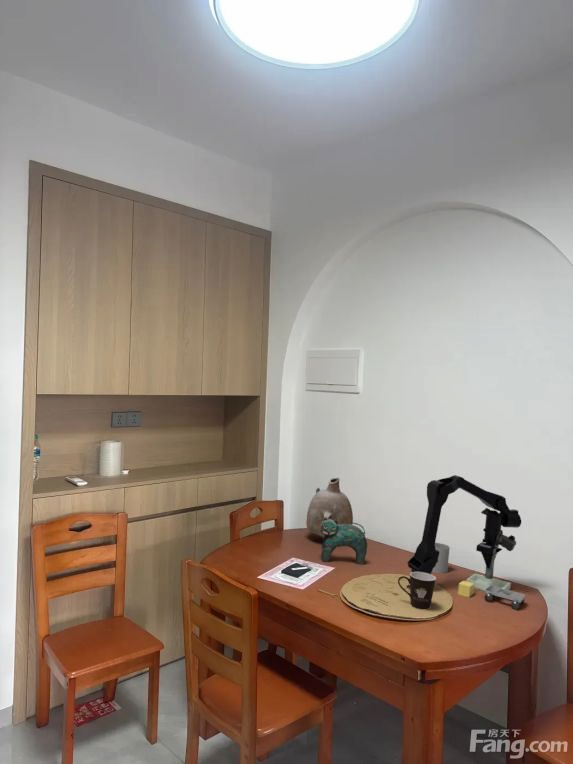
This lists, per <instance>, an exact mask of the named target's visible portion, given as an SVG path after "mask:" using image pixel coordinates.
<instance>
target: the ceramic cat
mask: <svg viewBox="0 0 573 764" xmlns="http://www.w3.org/2000/svg"><path fill="white" fill-rule="evenodd" d="M339 514H342V513H339ZM339 514H337V515H339ZM342 515H344V514H342ZM344 516H345V515H344ZM337 523H338V521H337V516H336V521H333V520H331V519H327V518H326V517H325V518H324V520H323V521H322V523H321V532H322V533H323V534H324V539H323V538H322V545H321V553H320V555H321V556H320V558H321V562H324V563H329V562H330V559H331V557H332V554H333V552H334V551H335V549H337V548H338V547H349V548H351V549H352V550H353V551H354V552H355V564H357V565H365V561H366V555H367V549H368V541H367V538H366V531H365V528H364V526H362V524H360V523H358V522H354V521H353V522H351V523H353V524H352V525H351V524H350V523H346V524H340V523H338V524H339V525H338V524H337ZM356 525H357V526H356ZM360 527H361V528H362V529H361V528H360Z"/></svg>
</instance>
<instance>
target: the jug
mask: <svg viewBox="0 0 573 764" xmlns="http://www.w3.org/2000/svg"><path fill="white" fill-rule="evenodd" d="M339 513H342V514H344V515H345V516H344V515H342V514H339ZM337 514H339V515H337ZM353 514H354V513H353V508H352V504H351V501H350V499H349V498H348V496H347V495H346V494H345V493H344V492H341V489H340V477H333V478H331V479H329V481H328V485H327V487H326V488H325V489H320V487H317V488H316V489H315V494H314V496H313V497H312V498H311V500H310V502H309V505H308V509H307V513H306V521H305V522H306V523H305V525H306V529H307V531H309V532H310V533H313V534H315V535H318V536H319V537H320V538H322V540H323V539H324V534H323V533H322V532H321V523H322V521H323V520H324V518H325V517H326V518H327V519H331V520H333V521H336V516H337V521H338V523H340V524H346V523H350V524H351V525H354V524H353V523H354V517H353V516H354V515H353ZM351 522H353V523H351ZM338 523H337V524H338ZM338 525H339V524H338Z"/></svg>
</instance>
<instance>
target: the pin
mask: <svg viewBox="0 0 573 764" xmlns="http://www.w3.org/2000/svg"><path fill="white" fill-rule="evenodd" d="M495 556H496V557H497V555H496V554H495V555H494V556H493V559H492V563H491V567H490V569H489V568H487V567H486V566H485V575H484V576H485V578H487V579H493V578H494V567H495V560H496V558H495ZM494 559H495V560H494Z"/></svg>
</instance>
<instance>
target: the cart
mask: <svg viewBox="0 0 573 764" xmlns="http://www.w3.org/2000/svg"><path fill="white" fill-rule="evenodd" d="M500 592H503V593H506V594H503V593H500ZM484 593H485V595H484V599H485V600H484V601H486V602H488V603H489V602H492V601H493V599H494V598H493V597H500V598H503V599H507V600H510V601H512V602H511V603H510V606H511V609H513V610H515V611H516V610H518V609H519V608H520V604H523V603H525V601H526V599H525V598H526V594H525V593H521V592H517V591H513V590H511V589H510V590H506V589H503V588H499V587H496V586H492V585H491V586H489V587H488V588H487V589H486V590H485V591H484Z"/></svg>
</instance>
